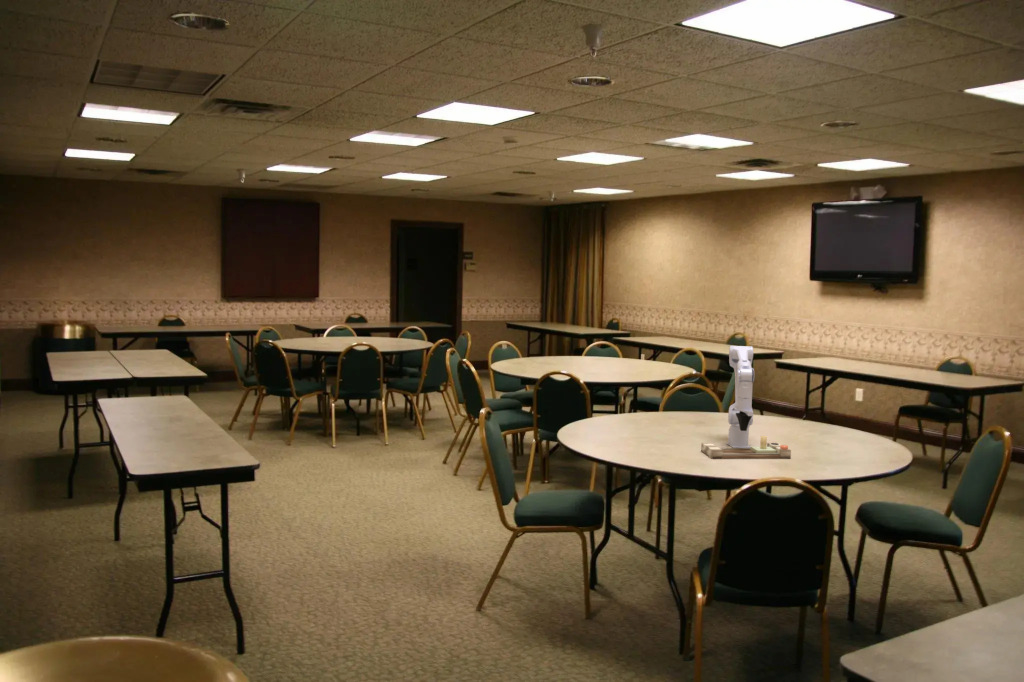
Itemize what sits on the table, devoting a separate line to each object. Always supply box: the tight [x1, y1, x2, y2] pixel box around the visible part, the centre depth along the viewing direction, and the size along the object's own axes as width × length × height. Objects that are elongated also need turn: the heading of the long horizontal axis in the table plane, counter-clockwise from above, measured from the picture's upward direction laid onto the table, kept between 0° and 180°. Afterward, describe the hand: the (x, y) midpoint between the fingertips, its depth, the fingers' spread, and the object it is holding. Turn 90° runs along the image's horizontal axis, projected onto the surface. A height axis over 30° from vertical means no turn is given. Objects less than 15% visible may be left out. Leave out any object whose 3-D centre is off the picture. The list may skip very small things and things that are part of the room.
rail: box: [700, 442, 792, 460], centre depth 322 cm, size 14×32×4 cm, turn 95°
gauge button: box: [780, 444, 789, 450], centre depth 318 cm, size 3×3×1 cm
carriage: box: [750, 435, 776, 453], centre depth 322 cm, size 7×8×6 cm
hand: (743, 430), depth 324 cm, fingers closed
